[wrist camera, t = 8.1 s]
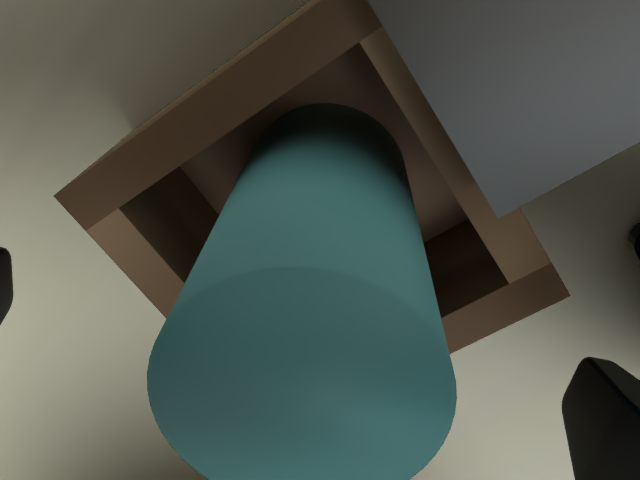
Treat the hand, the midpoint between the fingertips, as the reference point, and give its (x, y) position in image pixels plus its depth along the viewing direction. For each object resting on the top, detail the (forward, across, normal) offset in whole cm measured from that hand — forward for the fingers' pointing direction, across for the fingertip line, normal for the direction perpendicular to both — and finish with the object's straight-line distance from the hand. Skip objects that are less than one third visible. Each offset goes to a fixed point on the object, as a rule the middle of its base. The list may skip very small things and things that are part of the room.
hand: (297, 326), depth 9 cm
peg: (+6, 0, 0) cm, 6 cm away
